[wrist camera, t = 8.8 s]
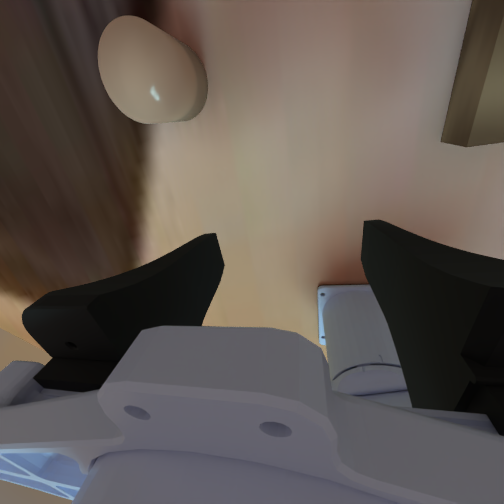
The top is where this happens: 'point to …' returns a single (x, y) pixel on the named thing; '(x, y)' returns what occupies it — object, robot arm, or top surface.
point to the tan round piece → (150, 72)
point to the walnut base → (479, 80)
